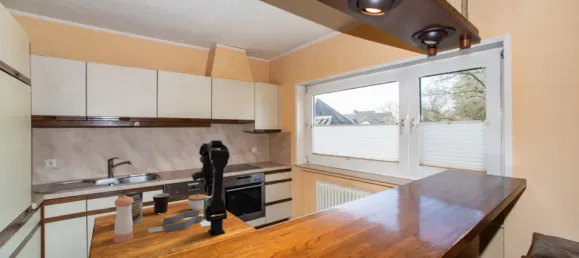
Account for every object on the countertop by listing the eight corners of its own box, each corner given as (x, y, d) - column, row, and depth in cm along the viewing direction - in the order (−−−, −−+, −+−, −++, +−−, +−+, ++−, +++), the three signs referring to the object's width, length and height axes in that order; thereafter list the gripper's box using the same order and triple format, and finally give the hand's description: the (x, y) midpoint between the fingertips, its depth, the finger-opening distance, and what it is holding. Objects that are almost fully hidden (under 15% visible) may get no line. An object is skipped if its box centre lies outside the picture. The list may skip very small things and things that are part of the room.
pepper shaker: (111, 239, 108) (112, 195, 108) (131, 234, 113) (132, 192, 113) (115, 245, 103) (116, 198, 103) (135, 239, 108) (136, 195, 108)
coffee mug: (154, 210, 147) (154, 193, 147) (170, 209, 150) (170, 192, 150) (149, 217, 136) (149, 198, 136) (166, 215, 139) (167, 197, 139)
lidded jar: (210, 207, 155) (210, 192, 155) (199, 213, 145) (199, 196, 145) (195, 206, 158) (195, 191, 158) (184, 211, 148) (184, 195, 148)
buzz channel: (219, 225, 128) (220, 217, 128) (148, 238, 112) (148, 229, 112) (211, 214, 144) (211, 207, 144) (148, 223, 128) (148, 216, 128)
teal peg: (212, 217, 136) (212, 199, 136) (204, 218, 134) (205, 200, 134) (210, 215, 139) (211, 197, 139) (203, 216, 137) (203, 198, 137)
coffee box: (126, 228, 120) (126, 195, 121) (116, 226, 122) (117, 193, 123) (142, 222, 129) (143, 190, 129) (133, 220, 131) (134, 189, 131)
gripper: (190, 164, 141) (189, 192, 141) (195, 169, 125) (194, 200, 125) (210, 163, 146) (209, 190, 146) (217, 168, 130) (217, 197, 130)
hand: (207, 194), depth 137 cm, fingers open, 9 cm apart
